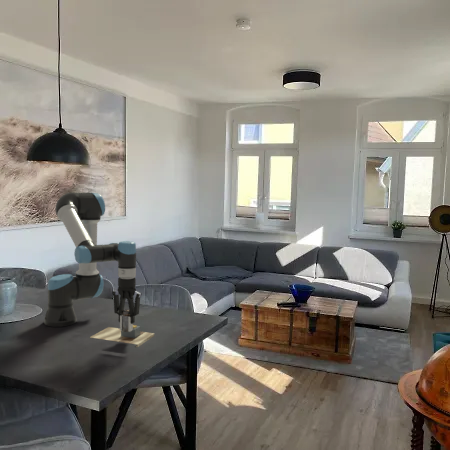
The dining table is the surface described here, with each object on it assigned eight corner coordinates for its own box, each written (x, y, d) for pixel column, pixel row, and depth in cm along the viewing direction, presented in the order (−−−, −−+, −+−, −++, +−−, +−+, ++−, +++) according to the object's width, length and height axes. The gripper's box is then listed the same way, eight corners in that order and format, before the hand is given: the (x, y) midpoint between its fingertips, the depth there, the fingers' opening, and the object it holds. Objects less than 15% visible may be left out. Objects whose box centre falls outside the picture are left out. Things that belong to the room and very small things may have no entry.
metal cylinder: (121, 331, 201) (121, 311, 201) (125, 329, 204) (125, 309, 204) (127, 332, 200) (128, 311, 200) (131, 330, 203) (132, 310, 203)
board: (89, 339, 206) (89, 337, 206) (108, 329, 221) (108, 327, 221) (137, 347, 199) (137, 344, 199) (154, 335, 214) (154, 333, 214)
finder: (121, 336, 208) (121, 326, 208) (126, 332, 213) (126, 323, 213) (134, 338, 206) (135, 328, 206) (140, 334, 211) (140, 325, 211)
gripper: (105, 277, 199) (105, 330, 201) (139, 280, 194) (139, 334, 196) (114, 274, 207) (114, 325, 208) (148, 277, 202) (147, 329, 204)
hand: (126, 329), depth 202 cm, fingers closed on metal cylinder, 3 cm apart
